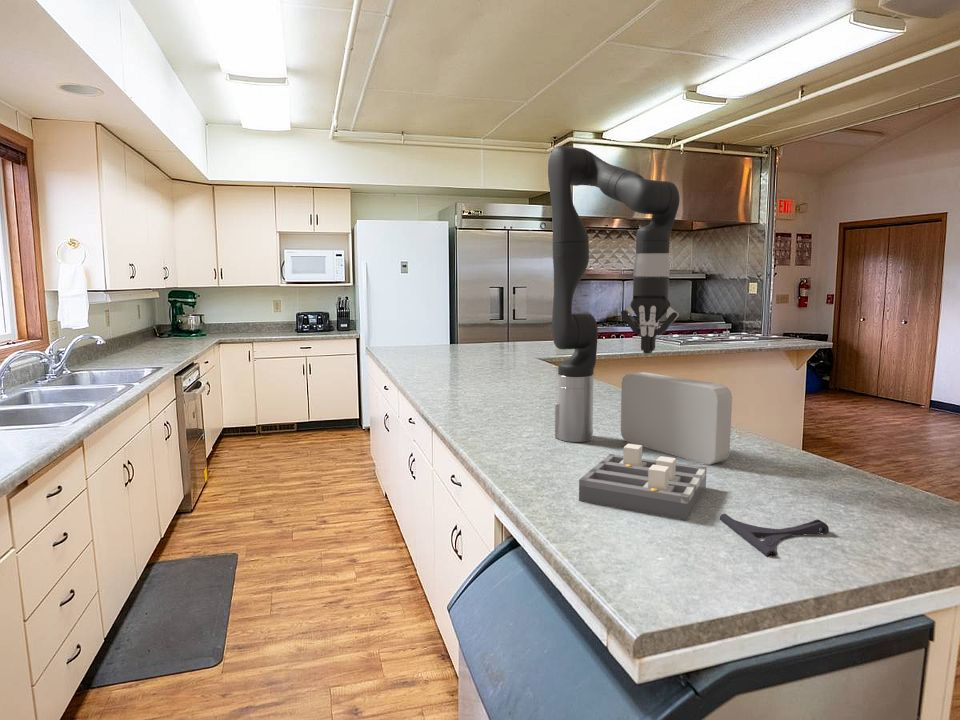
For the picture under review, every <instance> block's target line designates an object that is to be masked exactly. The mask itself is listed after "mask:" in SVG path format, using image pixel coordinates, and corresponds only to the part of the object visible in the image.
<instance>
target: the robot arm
mask: <svg viewBox="0 0 960 720" xmlns="http://www.w3.org/2000/svg"><path fill="white" fill-rule="evenodd" d="M547 162H548V164H547V177H548V188H549V193H550V194H549V196H550V203H551V218H552V219H551V222H552V223H551V225H552V264H553V266H552V267H553V298H552V299H553V301H552V317H551V336H552V340H553V343H554V345H555V347H556V348H558V350H563V351H564V350H574V352H573V353H572V355H571V356H570V357H569V358H567V359H565V360H564V361H562V362H560V363H559V364H558V366H557V367H558V368H557V371H558V372H557V375H558V376H557V382H558V383H557V402H555V404H554V411H555V412H554V438H555V439H557V440H561V441H564V442H568V443H569V442H570V443H583V442H589V441H591V440H593V432H594V429H593V428H594V425H593V424H594V379H595V378H594V372H595V371H594V370H595V366H596V363H597V349H598V336H599V333H598V331H599V330H598V324H597V320H596V318H595V317H594V315H592V313H591V314H590V313H587V312H586V313H585V312H584V313H583V312H582V313H572V311H573V298H574V294H575V291H576V289H577V286H578V285H579V284H580V281H581V280H582V278H583V276H584V274H585V272H586V270H587V268H588V265H589V262H590V248H589V247H590V246H589V245H590V244H589V241H590V240H589V234H588V232H587V231H588V230H587V228H586V227H585V225H584V223H583V221H582V219H581V217H580V215H579V213H578V212H577V210H576V207H575V205H574V203H573V198H572V188H571V187H572V186H575V187H576V186H577V187H578V186H590V187H596V188H598V189H599V191H601V193H602V194H603V195H604V196H607V197H608V198H611V199H613V200H615V201H617V202H618V203H619V202H620V203H623V204H624V205H625V206H626V207H627V208H629V210H631V211H634V212H636V213H638V214H643V215H652V216H651V219H650V222H649V224H647V225H645V226H641V227H639V228H638V229H637V232H636V238H635V240H636V241H635V257H634V264H633V281H632V283H633V284H632V285H633V287H632V300H631V301H630V306H628V307H627V308H626V309H624V310H621V311H620V315H621V317H622V318H623V319H624V321H625V322H626V323H627V325H628V327H629V328H630V329H631V331H632V332H633V333H634V334H638V335H639V336H640V349H641V350H640V351H642V353H643V354H652V353H653V352H654V351H655V350H656V340H657V339H656V338H657V336H659V335H662V334H664V333H665V332H666V331H667V330H668V329H669V328H670V327H671V326H672V325H673V323H674V322H676V320H677V319H678V318H679V316H680V312H679V311H675V309H673V308H672V307H671V303H670V301H669V289H670V288H669V287H670V274H671V269H670V265H671V264H670V261H671V260H670V239H671V232H672V229H673V227H674V223H675V220H676V217H677V213H678V210H679V206H680V198H681V197H680V193H679V189H678V187H677V185H676V184H675V183H673V182H671V181H666V180H665V181H664V180H657V179H656V180H655V179H647V178H644V177H643V176H642V175H641V174H639V173H637V172H635V171H632V170H630V169H626V168H623V167H620V166H616V165H613V164H610V163H609V162H606V160H603V159H602V158H600V157H598V156H597V154H594V153H593V152H591V151H589V150H587V149H585V148H581V147H573V146H563V145H559V146H556V147H554V148H553V149H552V150H551V152H550V154H549V158H548V161H547ZM665 314H666V315H665ZM634 315H635V316H636V318H637V319H638V320H639V323H638V322H637V320H636V319H635V317H634ZM663 316H665V317H666V319H665V321H664V322H663V323H662V324H661V325H660V326H659V322H660V320H661V319H662V318H663Z"/></svg>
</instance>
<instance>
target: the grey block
mask: <svg viewBox="0 0 960 720" xmlns="http://www.w3.org/2000/svg"><path fill="white" fill-rule="evenodd" d="M620 395H621V396H620V397H621V399H620V406H621V407H620V433H621V434H620V435H621V438H622V439H623V440H624V441H626V442H627V443H628V444H635V445H642V448H643V447H644V448H648V449H650V450H653V451H657V452H662V453H664V454H667V455H672V456H675V457H679V458H682V459H685V460H688V461H692V462H696V463H699V464H703V465H713V464H717V463H721V462H724V461H726V460H727V459H728V458H729V455H730V452H731V451H730V447H731V434H732V433H731V429H732V428H731V427H732V409H733V408H732V406H733V396H732V391H731V390H730V388H729V387H728V386H727V385H724V384H722V383H714V382H708V381H704V380H703V381H702V380H695V379H690V378H683V377H676V376H672V375H671V376H670V375H663V374H657V373H651V372H643V371H642V372H641V371H640V372H633V373H628V374H625V375H624V376H623V377H622V381H621V394H620Z"/></svg>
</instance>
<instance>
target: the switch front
mask: <svg viewBox="0 0 960 720" xmlns="http://www.w3.org/2000/svg"><path fill="white" fill-rule="evenodd" d="M643 487H645V488H656V489H658V490H664V491H670V492H673V491H674V486H669V467H667V466H660V465H652V466H651V467H650V468H649V469H648V482H647V483H646V484H645V485H644V486H643Z"/></svg>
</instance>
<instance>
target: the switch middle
mask: <svg viewBox="0 0 960 720" xmlns="http://www.w3.org/2000/svg"><path fill="white" fill-rule="evenodd" d="M655 460H656V465H660V466H667V467H669V480H670V481H676V482H680V480H681V477H678V476H675V468H676V463H677V462H676V461H677V458H675V457H670V456H663V455H662V456H659V457H658V458H657V459H655Z"/></svg>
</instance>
